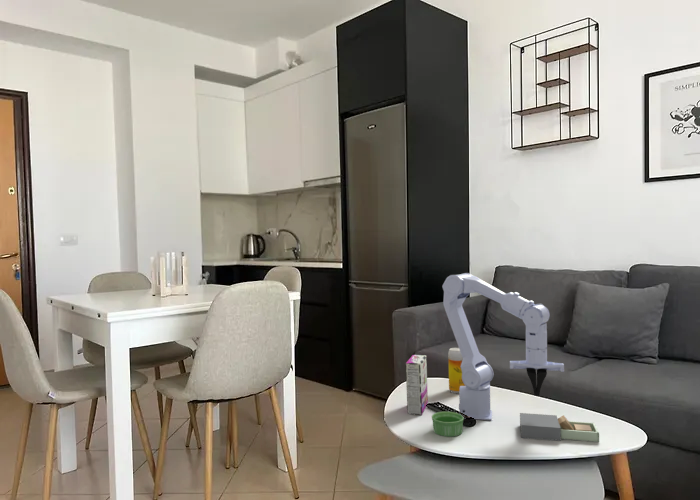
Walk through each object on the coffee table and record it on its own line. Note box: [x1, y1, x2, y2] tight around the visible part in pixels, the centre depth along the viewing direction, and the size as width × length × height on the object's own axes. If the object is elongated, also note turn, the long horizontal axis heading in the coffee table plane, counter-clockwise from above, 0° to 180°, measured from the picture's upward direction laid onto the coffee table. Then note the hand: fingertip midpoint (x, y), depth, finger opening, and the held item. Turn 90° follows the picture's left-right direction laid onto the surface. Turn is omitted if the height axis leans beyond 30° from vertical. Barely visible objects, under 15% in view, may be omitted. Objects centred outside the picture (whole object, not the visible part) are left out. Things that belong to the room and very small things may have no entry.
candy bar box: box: [405, 354, 429, 416], centre depth 170 cm, size 11×5×16 cm, turn 162°
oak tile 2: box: [574, 424, 592, 432], centre depth 145 cm, size 4×4×2 cm
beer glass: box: [447, 347, 466, 394], centre depth 188 cm, size 6×6×15 cm
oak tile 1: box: [557, 415, 574, 430], centre depth 146 cm, size 4×4×2 cm
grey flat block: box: [519, 412, 562, 441], centre depth 148 cm, size 10×10×4 cm
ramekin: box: [431, 411, 465, 438], centre depth 150 cm, size 9×9×4 cm
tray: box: [559, 420, 600, 443], centre depth 145 cm, size 10×8×2 cm
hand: (536, 394), depth 151 cm, fingers closed
